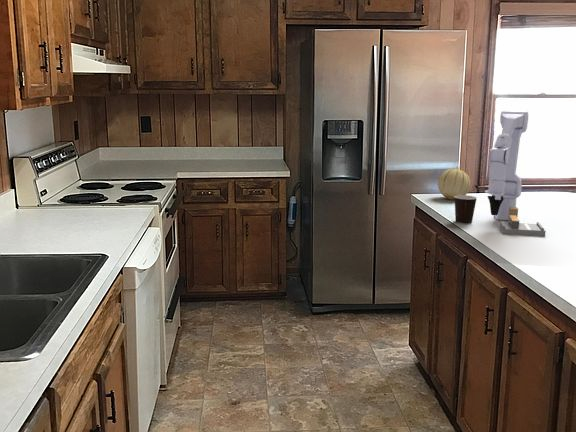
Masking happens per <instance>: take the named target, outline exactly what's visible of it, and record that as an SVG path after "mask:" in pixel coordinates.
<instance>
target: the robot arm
mask: <svg viewBox="0 0 576 432" xmlns="http://www.w3.org/2000/svg"><path fill="white" fill-rule="evenodd" d="M499 117H500V118H499V121H500V125H501V128H502V131H501V134H498V135H497V137H496V140H495V143H494V146H493V147H492V148H491V149H489V153H488V168H489V179H488V189H487V190H485V191H484V193H485V194H489V195H488V196H487V199H488V201H489V208H490V215H491V216H494V218H495V220H496V221H508V214H509V207H517V198H520V196H521V194H522V189H523V188H522V187H523V184H522V182H523V179H522V177H520V176H519V175H518V174H517V173H516V172H517V166H518V159H519V150H520V141H521V137H522V134H523V133H526V132H527V129H528V123H529V111H527V110H517V109H516V110H512V109H510V110H509V109H503V110H501V113H500V116H499Z"/></svg>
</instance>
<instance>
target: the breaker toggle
mask: <svg viewBox="0 0 576 432" xmlns="http://www.w3.org/2000/svg"><path fill="white" fill-rule="evenodd" d="M519 223H520V219H519V217H517V216H516V215H509V224H510V226H511V227H512V228H519Z"/></svg>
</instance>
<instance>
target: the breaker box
mask: <svg viewBox="0 0 576 432" xmlns="http://www.w3.org/2000/svg"><path fill="white" fill-rule="evenodd" d="M498 228H499V230H500V233H501V234H502V235H511V236H512V235H514V236H517V235H518V236H530V237H531V236H533V237H534V236H535V237H546V231H547V230H545V228H544V227H543V226H542V224H541V223H540V222H539V221H538V222H536V223H524V222H523V223H522V222H521V223H520V222H519V228H512V227H511V226H510V224H509V223H508V222H505V221H504V220H499V223H498Z"/></svg>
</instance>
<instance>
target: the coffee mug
mask: <svg viewBox="0 0 576 432" xmlns="http://www.w3.org/2000/svg"><path fill="white" fill-rule="evenodd" d="M477 198H478V197H476V196H473V195H467V194H466V195H458V196H454V199H453V200H454V213H455V214H454V215H455V223H459V224H472V223H473V219H474V214H475V213H474V212H475V210H476V209H475V208H476V203H477Z"/></svg>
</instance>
